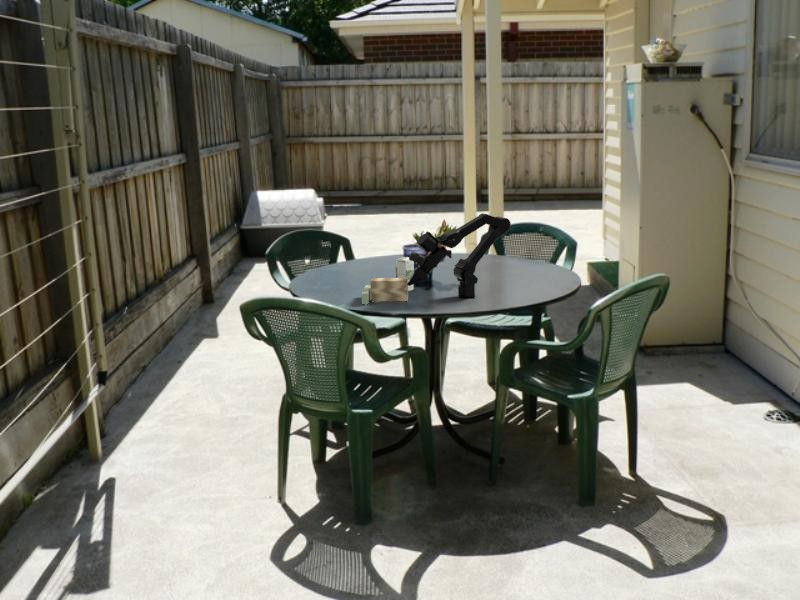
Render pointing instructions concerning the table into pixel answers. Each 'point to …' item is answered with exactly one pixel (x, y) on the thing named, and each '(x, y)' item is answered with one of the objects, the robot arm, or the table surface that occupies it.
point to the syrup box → (405, 269)
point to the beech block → (389, 289)
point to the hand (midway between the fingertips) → (408, 285)
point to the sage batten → (366, 294)
